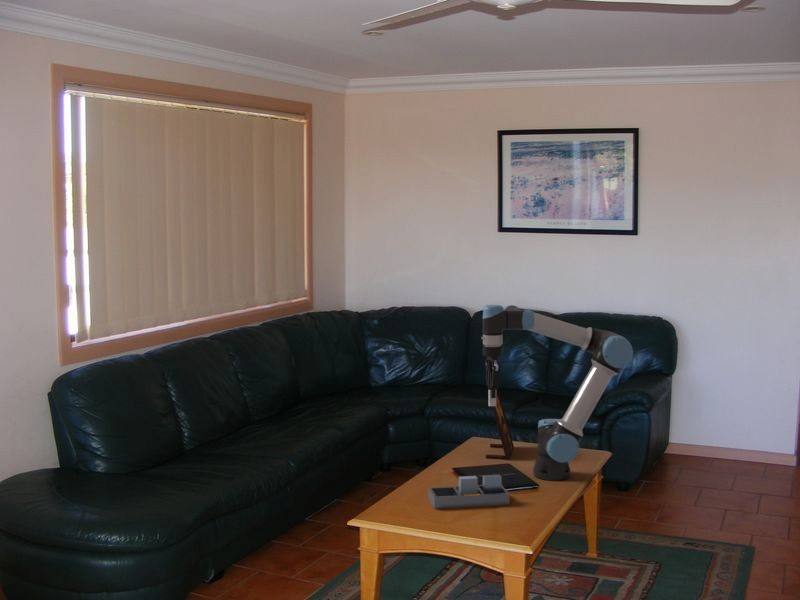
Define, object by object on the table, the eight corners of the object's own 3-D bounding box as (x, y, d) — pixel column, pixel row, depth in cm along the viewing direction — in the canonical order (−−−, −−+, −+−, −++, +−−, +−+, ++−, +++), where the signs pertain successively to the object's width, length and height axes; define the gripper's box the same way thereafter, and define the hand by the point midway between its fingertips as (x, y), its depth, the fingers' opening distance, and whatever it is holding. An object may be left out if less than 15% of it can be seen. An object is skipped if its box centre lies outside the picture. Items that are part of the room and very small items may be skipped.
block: (475, 496, 338) (475, 475, 337) (477, 499, 335) (477, 478, 334) (458, 497, 337) (458, 476, 336) (460, 500, 334) (460, 479, 333)
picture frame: (510, 460, 389) (511, 391, 386) (485, 458, 391) (486, 390, 388) (513, 447, 410) (514, 382, 406) (490, 446, 412) (491, 381, 408)
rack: (500, 494, 344) (501, 471, 343) (509, 504, 332) (509, 480, 331) (428, 498, 339) (428, 474, 338) (434, 508, 328) (434, 484, 327)
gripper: (478, 343, 353) (478, 402, 356) (487, 348, 340) (487, 410, 343) (497, 342, 354) (497, 401, 357) (506, 347, 342) (506, 409, 344)
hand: (492, 405), depth 350 cm, fingers closed
